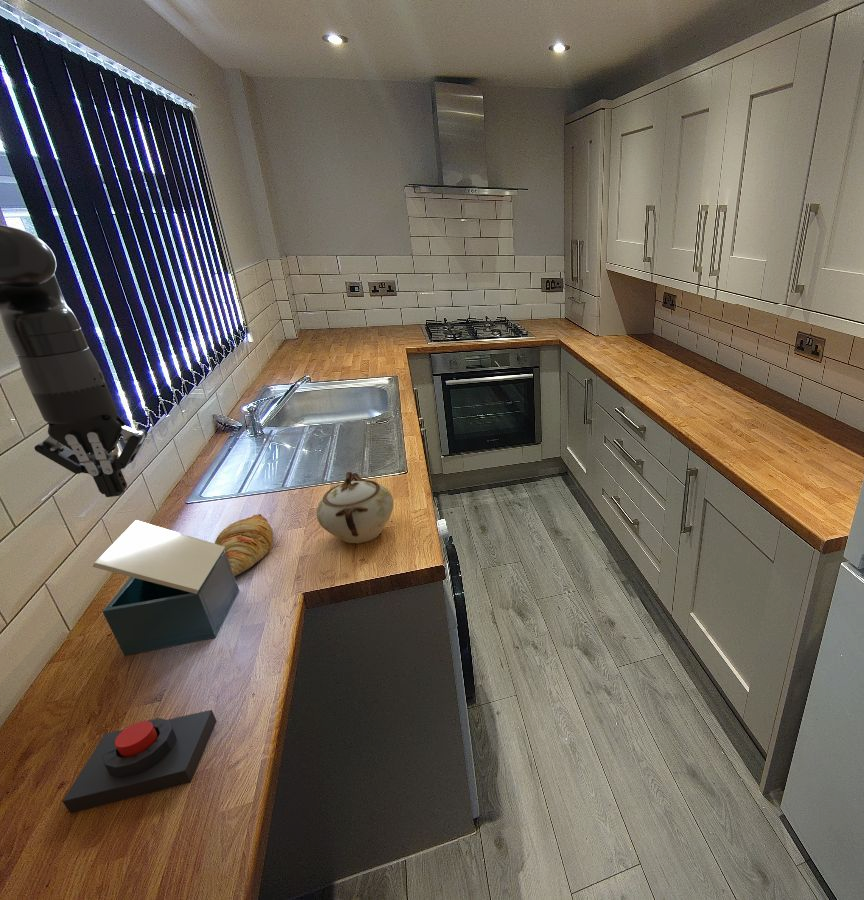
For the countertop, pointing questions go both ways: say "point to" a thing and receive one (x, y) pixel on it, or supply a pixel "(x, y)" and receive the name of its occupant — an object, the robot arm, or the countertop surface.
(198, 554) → the box lid
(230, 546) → the croissant
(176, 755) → the switch block
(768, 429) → the countertop surface
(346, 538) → the sugar bowl
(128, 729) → the button
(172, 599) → the dark rectangular box
